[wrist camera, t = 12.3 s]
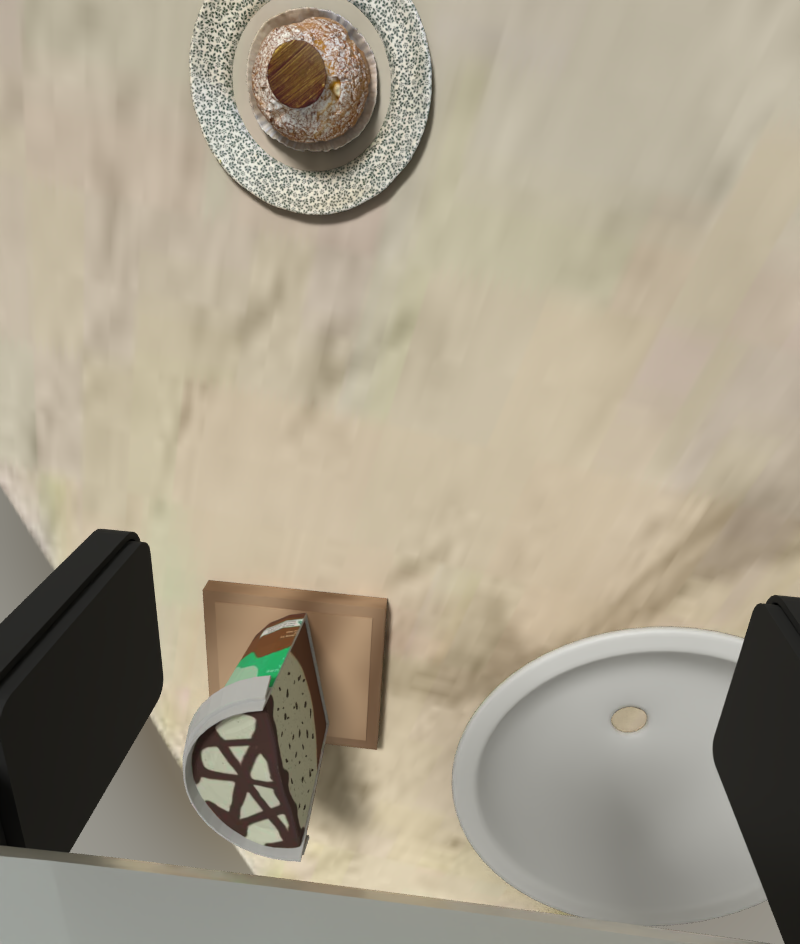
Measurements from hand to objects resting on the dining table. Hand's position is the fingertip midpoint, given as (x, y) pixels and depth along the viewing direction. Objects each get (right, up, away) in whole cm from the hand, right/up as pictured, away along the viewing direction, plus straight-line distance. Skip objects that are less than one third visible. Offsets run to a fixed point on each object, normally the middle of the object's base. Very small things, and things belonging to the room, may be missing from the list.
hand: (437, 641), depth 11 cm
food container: (-9, -11, +38) cm, 40 cm away
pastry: (-5, +22, +25) cm, 33 cm away
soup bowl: (+15, -14, +38) cm, 43 cm away
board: (-8, -11, +39) cm, 41 cm away
